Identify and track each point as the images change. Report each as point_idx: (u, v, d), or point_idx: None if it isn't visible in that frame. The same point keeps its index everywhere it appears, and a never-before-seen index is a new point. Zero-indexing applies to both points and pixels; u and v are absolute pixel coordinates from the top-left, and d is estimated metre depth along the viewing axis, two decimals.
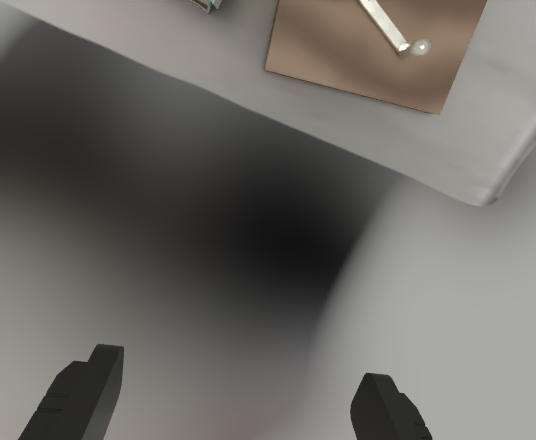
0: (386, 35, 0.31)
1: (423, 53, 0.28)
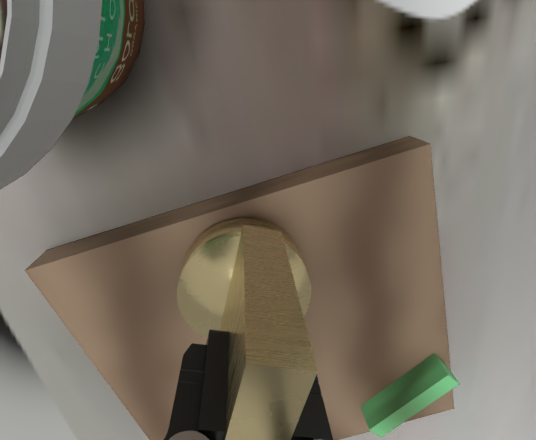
0: None
1: None
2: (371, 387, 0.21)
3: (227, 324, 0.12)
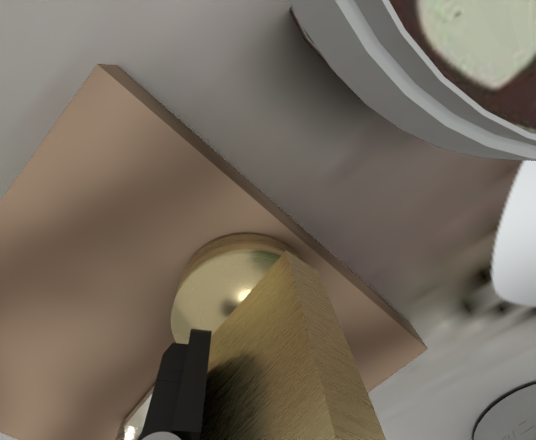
0: (143, 402, 0.17)
1: None
2: None
3: (237, 354, 0.11)
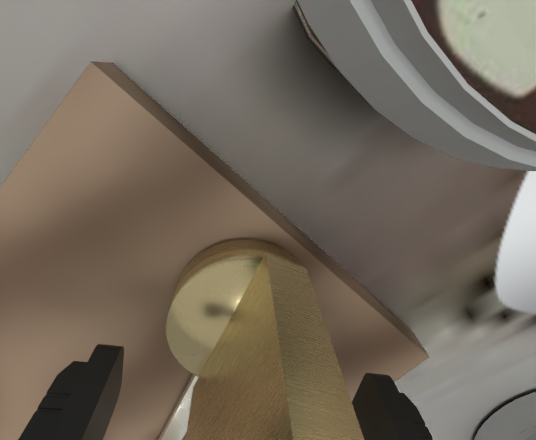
0: (169, 422, 0.17)
1: None
2: None
3: (229, 369, 0.10)
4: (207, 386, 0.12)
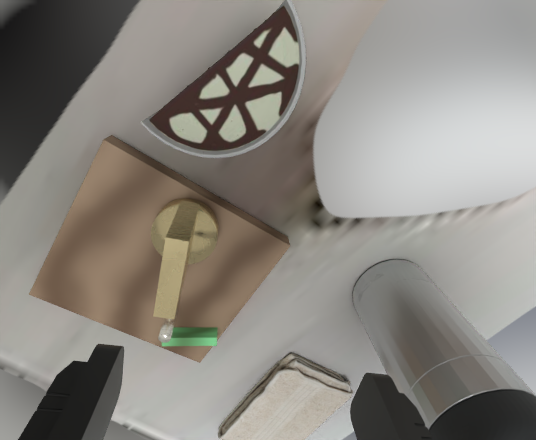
0: None
1: (160, 340, 0.33)
2: (178, 322, 0.37)
3: None
4: None
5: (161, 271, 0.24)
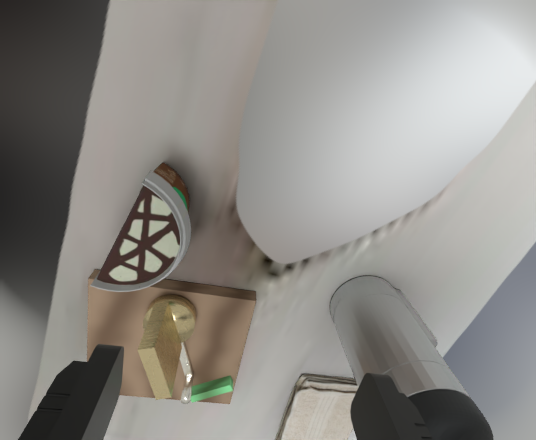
0: (182, 365, 0.44)
1: (183, 403, 0.42)
2: (198, 380, 0.47)
3: None
4: None
5: (146, 370, 0.33)
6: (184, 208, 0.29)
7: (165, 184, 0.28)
